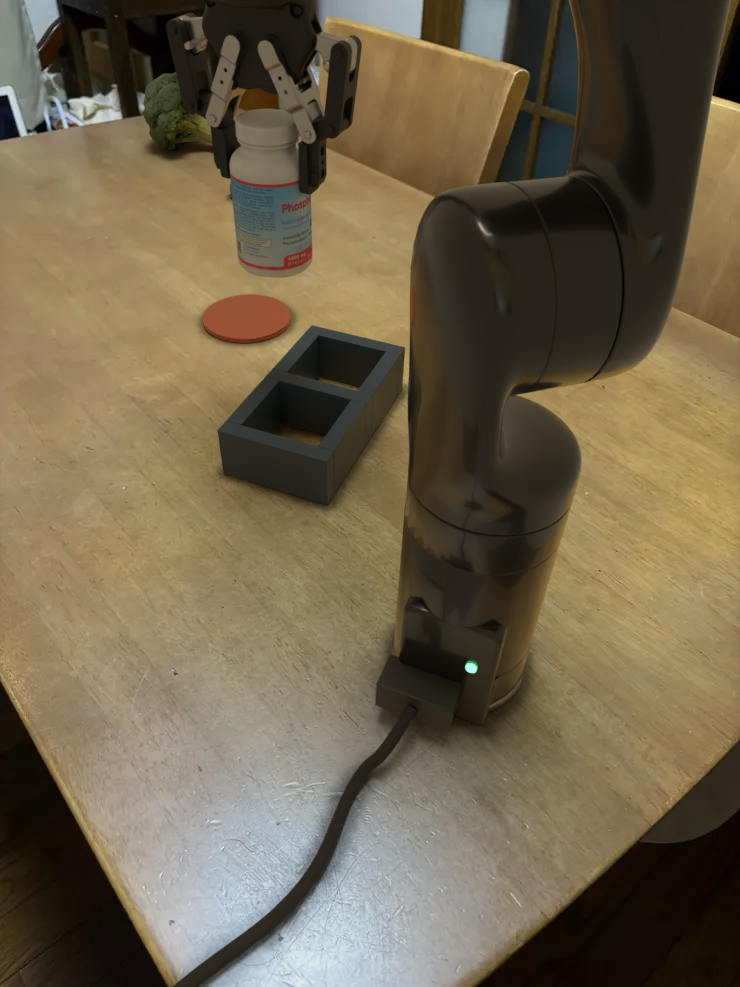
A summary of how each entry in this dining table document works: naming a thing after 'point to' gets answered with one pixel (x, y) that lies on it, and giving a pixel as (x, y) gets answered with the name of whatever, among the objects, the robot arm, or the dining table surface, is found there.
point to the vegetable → (171, 114)
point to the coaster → (246, 318)
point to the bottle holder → (313, 413)
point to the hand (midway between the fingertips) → (271, 182)
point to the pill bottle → (269, 196)
